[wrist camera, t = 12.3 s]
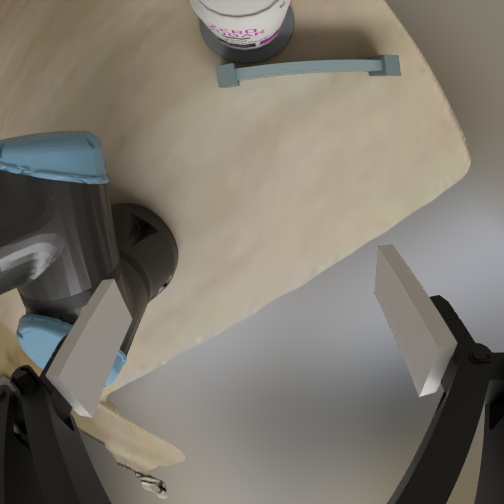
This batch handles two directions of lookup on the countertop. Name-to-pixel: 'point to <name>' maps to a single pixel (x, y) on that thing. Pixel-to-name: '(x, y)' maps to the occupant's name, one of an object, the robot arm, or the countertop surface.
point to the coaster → (251, 55)
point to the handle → (308, 69)
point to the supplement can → (242, 20)
